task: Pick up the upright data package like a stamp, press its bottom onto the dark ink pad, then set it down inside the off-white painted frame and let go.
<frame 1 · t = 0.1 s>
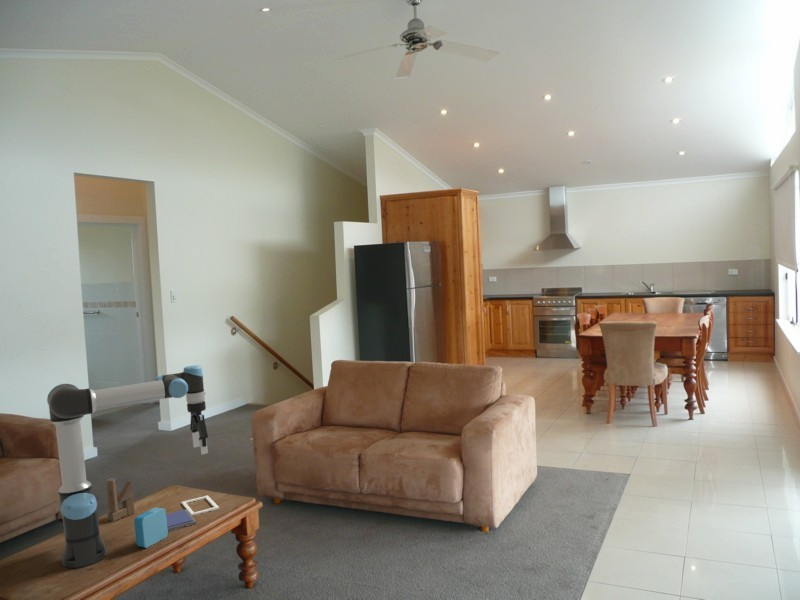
hand: (200, 450, 277), 28 cm above the table, tool pointing down, fingers open, 13 cm apart
ink pad: (173, 522, 271), on the table
brown angular block piece: (121, 517, 282), on the table
frame: (200, 506, 288), on the table
data package: (152, 542, 253), on the table
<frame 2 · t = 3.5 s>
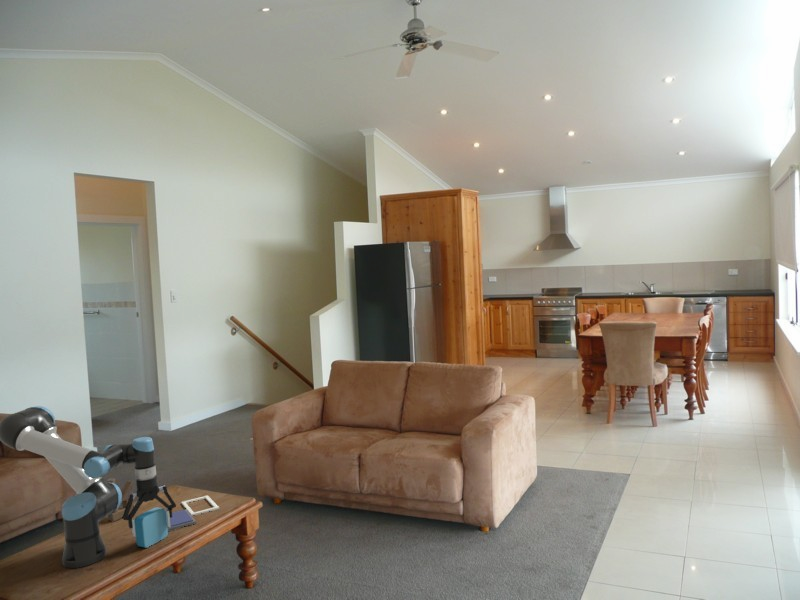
hand: (151, 530, 252), 5 cm above the table, tool pointing down, fingers closed on data package, 12 cm apart
data package: (153, 542, 253), on the table, touching gripper
everything else where it was.
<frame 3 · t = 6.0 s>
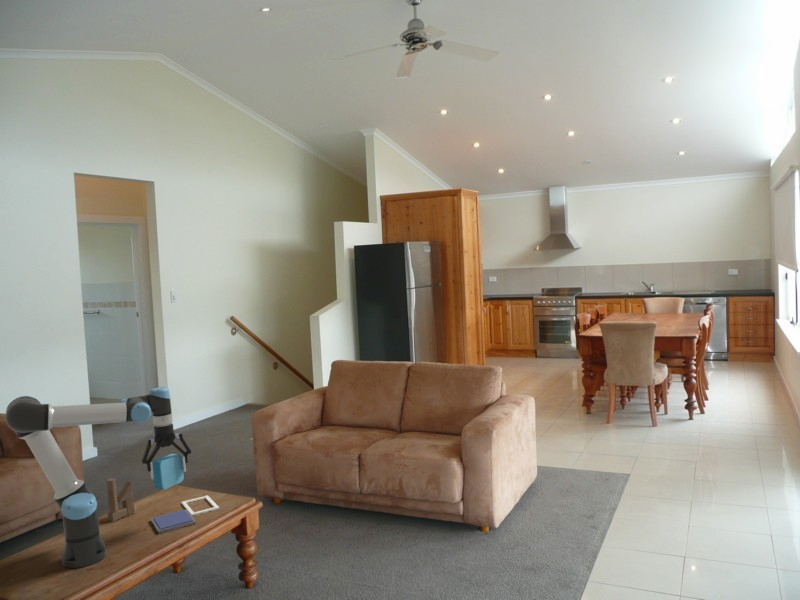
hand: (168, 474, 269), 21 cm above the table, tool pointing down, fingers closed on data package, 12 cm apart
data package: (170, 485, 270), point 16 cm above the table, touching gripper
everything else where it was.
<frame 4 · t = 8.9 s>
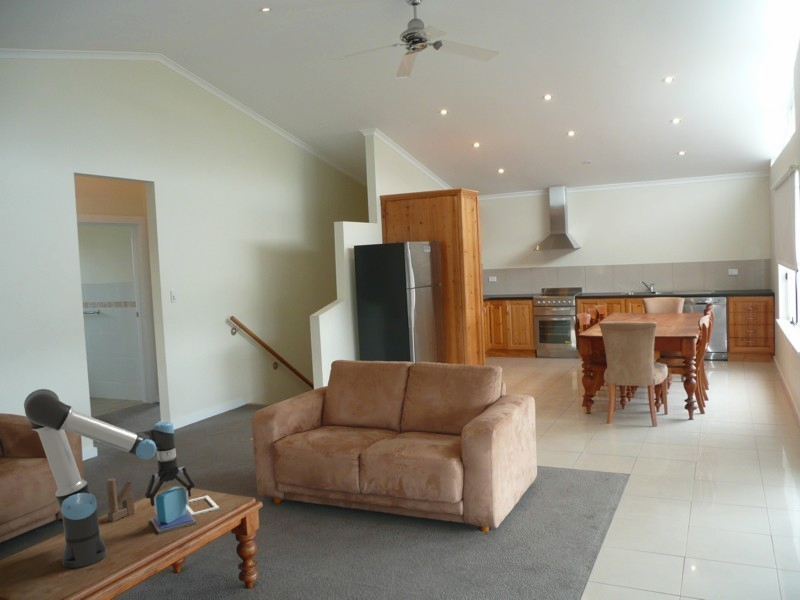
hand: (172, 508, 271), 6 cm above the table, tool pointing down, fingers closed on data package, 12 cm apart
data package: (173, 519, 271), point 1 cm above the table, touching gripper, ink pad
everything else where it was.
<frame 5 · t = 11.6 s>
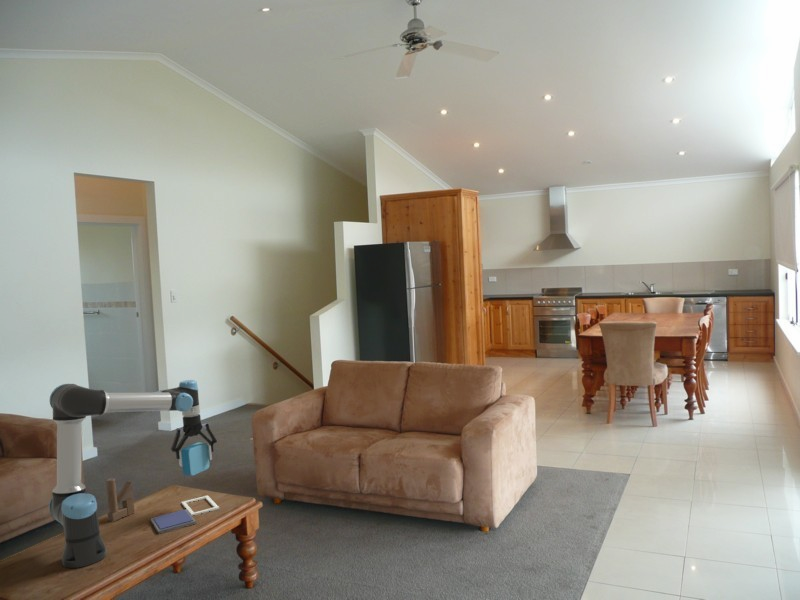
hand: (195, 462, 286), 20 cm above the table, tool pointing down, fingers closed on data package, 12 cm apart
data package: (196, 472, 287), point 16 cm above the table, touching gripper
everything else where it was.
when the fingers open (6 cm above the table, at t = 14.3 s): data package drops 1 cm, resting on frame.
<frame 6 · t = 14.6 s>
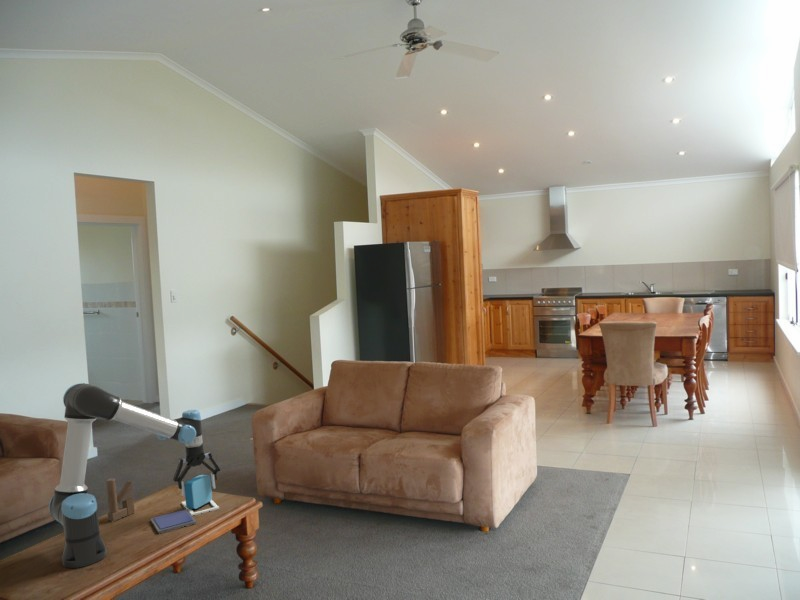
hand: (198, 491, 287), 7 cm above the table, tool pointing down, fingers open, 13 cm apart
data package: (199, 505, 287), point 1 cm above the table, touching frame
everything else where it was.
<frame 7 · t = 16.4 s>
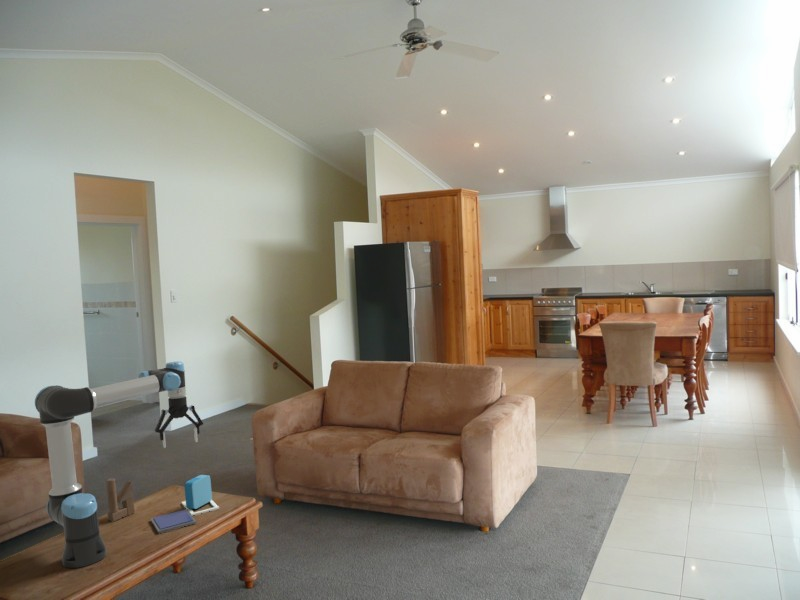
hand: (180, 444, 284), 29 cm above the table, tool pointing down, fingers open, 13 cm apart
nothing on the table moved.
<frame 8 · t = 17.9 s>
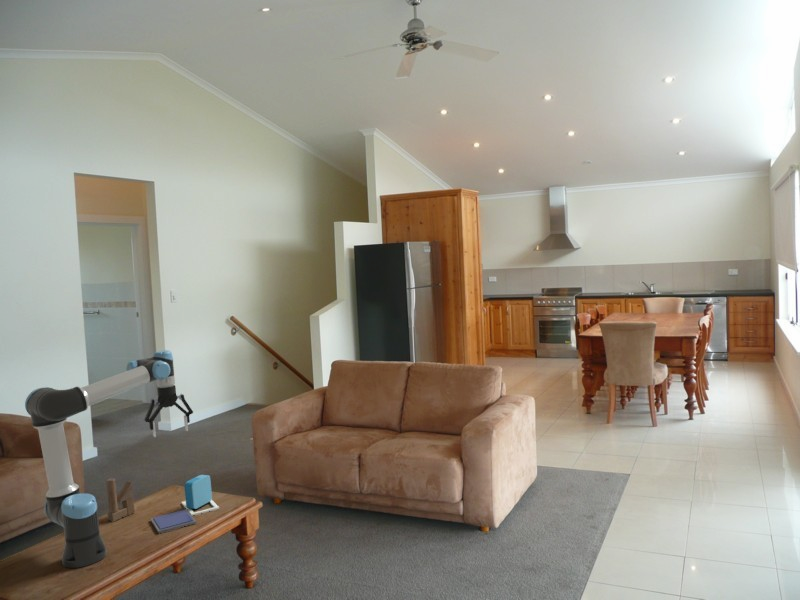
hand: (170, 433, 283), 35 cm above the table, tool pointing down, fingers open, 13 cm apart
nothing on the table moved.
at the end: data package inside the target area on the frame (0.1 cm from its centre), point 0.6 cm above the frame's base; data package tilted 0°; the gripper is holding nothing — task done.
